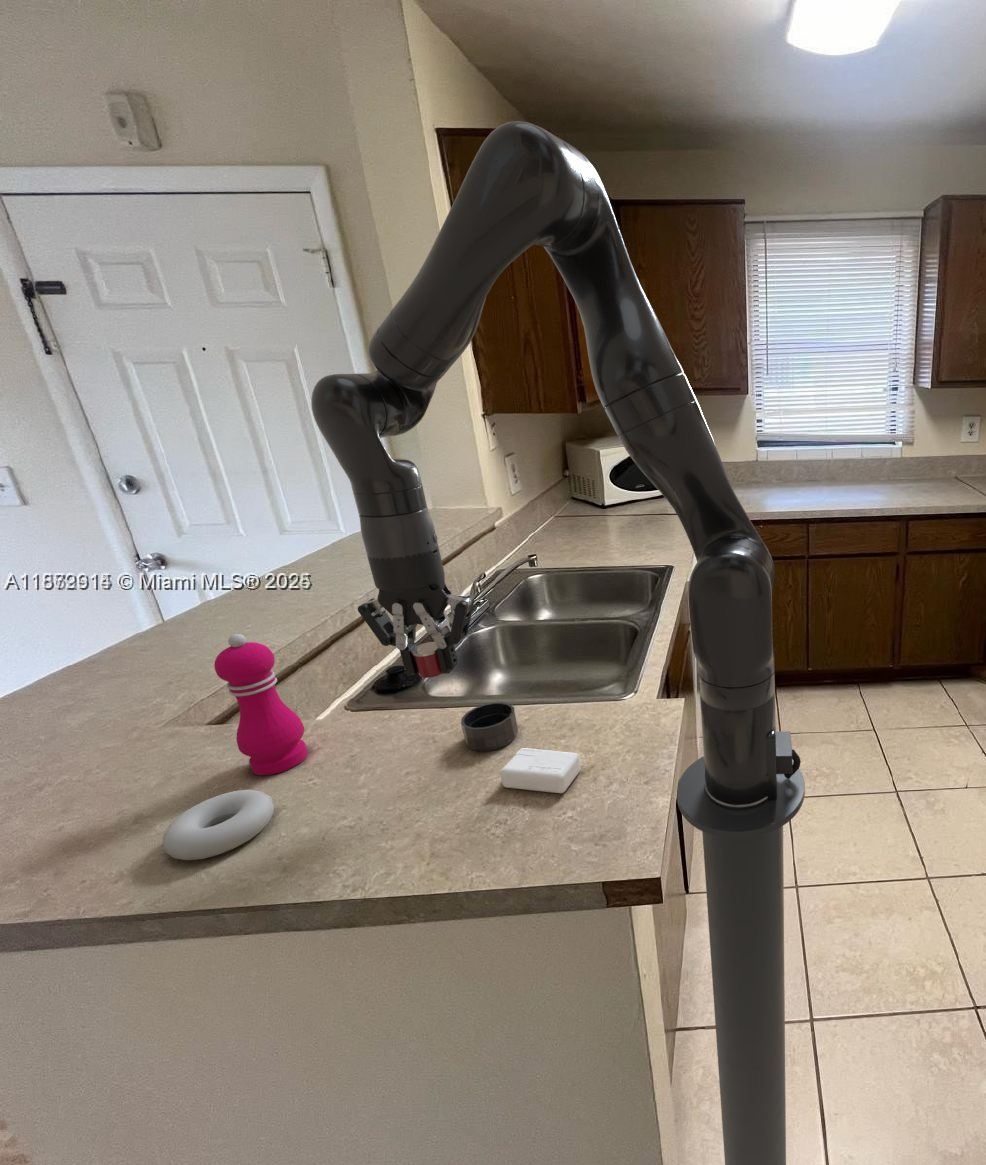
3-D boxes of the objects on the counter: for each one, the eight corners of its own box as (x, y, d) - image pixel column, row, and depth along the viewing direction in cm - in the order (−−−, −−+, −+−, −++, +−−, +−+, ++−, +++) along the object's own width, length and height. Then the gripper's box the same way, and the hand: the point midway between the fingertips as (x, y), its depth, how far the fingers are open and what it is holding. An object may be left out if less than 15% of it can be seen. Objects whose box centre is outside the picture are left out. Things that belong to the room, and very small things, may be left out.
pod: (453, 665, 80) (447, 641, 79) (440, 678, 77) (434, 653, 75) (426, 666, 80) (420, 642, 79) (411, 679, 76) (405, 654, 75)
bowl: (525, 723, 93) (521, 701, 91) (507, 752, 86) (502, 728, 85) (479, 724, 93) (474, 702, 91) (457, 753, 86) (451, 729, 84)
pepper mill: (322, 743, 88) (282, 621, 81) (294, 774, 82) (247, 644, 75) (268, 749, 87) (222, 625, 80) (235, 781, 80) (182, 649, 74)
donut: (147, 855, 68) (203, 876, 65) (136, 832, 67) (192, 851, 64) (244, 799, 77) (297, 815, 74) (235, 777, 76) (289, 792, 73)
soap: (583, 769, 82) (580, 751, 81) (564, 796, 77) (560, 777, 76) (524, 763, 83) (520, 745, 82) (500, 789, 78) (497, 770, 77)
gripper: (322, 557, 68) (361, 687, 74) (446, 554, 69) (474, 683, 75) (362, 539, 76) (394, 659, 81) (474, 536, 76) (498, 656, 82)
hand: (433, 670), depth 78 cm, fingers closed on pod, 3 cm apart
